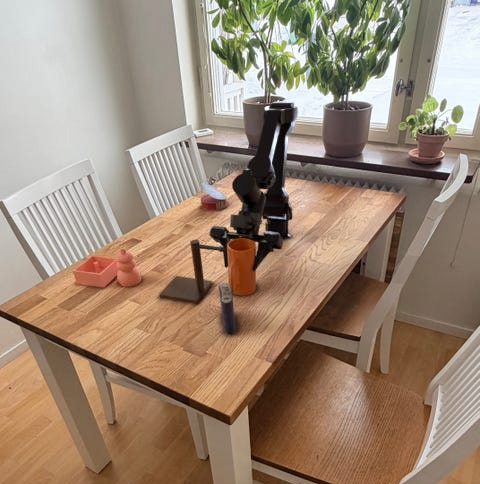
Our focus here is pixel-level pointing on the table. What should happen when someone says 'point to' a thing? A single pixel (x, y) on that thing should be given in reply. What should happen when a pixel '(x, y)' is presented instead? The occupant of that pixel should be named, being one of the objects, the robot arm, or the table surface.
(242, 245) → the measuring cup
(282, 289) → the table surface
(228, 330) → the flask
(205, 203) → the canned food
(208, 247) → the hook stand
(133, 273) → the pottery
